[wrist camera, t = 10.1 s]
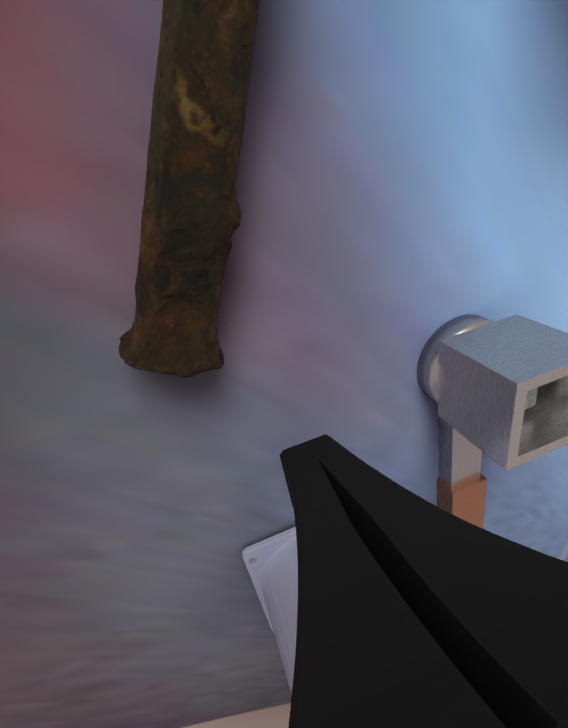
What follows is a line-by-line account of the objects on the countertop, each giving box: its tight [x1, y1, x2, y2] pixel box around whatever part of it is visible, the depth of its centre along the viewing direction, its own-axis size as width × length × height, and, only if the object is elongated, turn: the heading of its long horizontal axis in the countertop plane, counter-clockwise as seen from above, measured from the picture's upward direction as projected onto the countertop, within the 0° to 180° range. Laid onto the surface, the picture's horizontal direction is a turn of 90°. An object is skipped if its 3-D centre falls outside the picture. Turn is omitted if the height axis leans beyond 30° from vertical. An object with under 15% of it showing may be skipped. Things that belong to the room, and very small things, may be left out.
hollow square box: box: [438, 314, 568, 470], centre depth 20 cm, size 5×5×5 cm
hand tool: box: [119, 0, 260, 377], centre depth 13 cm, size 19×4×5 cm, turn 166°
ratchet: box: [417, 314, 538, 529], centre depth 25 cm, size 21×6×4 cm, turn 12°
